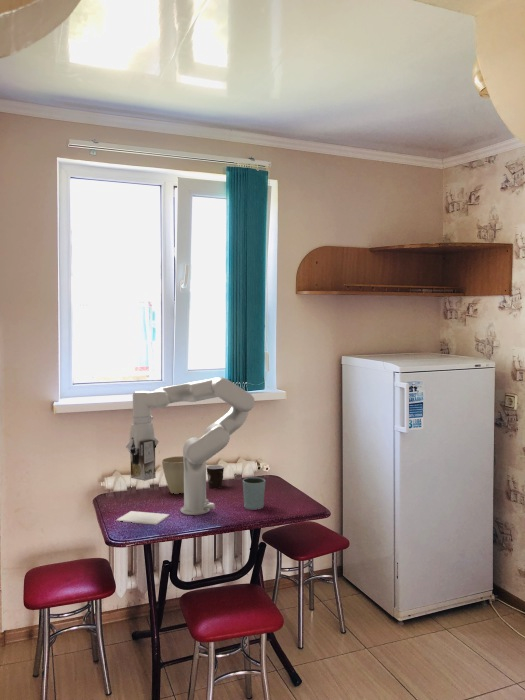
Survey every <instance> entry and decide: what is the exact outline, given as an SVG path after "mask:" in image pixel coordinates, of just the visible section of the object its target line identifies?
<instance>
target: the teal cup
mask: <svg viewBox="0 0 525 700" xmlns="http://www.w3.org/2000/svg"><path fill="white" fill-rule="evenodd" d="M242 489H243V507H245V508H244V509H246V510H251V511H254V510H255V511H256V510H257V509H258V510H261V508H262V509H263V508H264V506H265V504H264V502H265V491H266V479H265V478H262V477H258V476H256V477H253V476H252V477H245V478H243V479H242Z"/></svg>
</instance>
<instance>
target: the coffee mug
mask: <svg viewBox="0 0 525 700" xmlns="http://www.w3.org/2000/svg"><path fill="white" fill-rule="evenodd" d="M224 468H225V466H224V465H219V464H212V465H206V476H207V481H208V487H210V488H209V489H213V488H217V489H220V488H219V487H221V488H222V487H223V479H224V471H225V470H224Z"/></svg>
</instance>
